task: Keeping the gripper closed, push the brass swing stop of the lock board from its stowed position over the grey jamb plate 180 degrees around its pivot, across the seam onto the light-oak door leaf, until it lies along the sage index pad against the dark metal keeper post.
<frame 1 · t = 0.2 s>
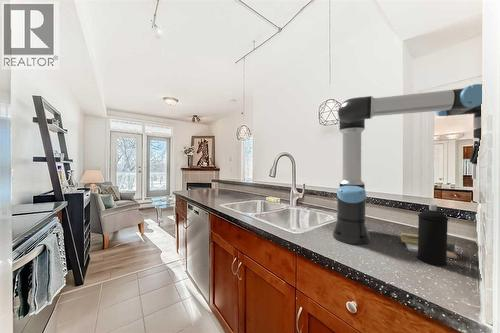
hand: (485, 180, 84), 28 cm above the worktop, fingers open, 13 cm apart
brass swing stop: (416, 238, 87), point 3 cm above the worktop, hinge at 0.0°
aerosol can: (431, 261, 74), on the worktop
door leaf: (437, 248, 84), on the worktop
jamb plate: (415, 245, 87), on the worktop
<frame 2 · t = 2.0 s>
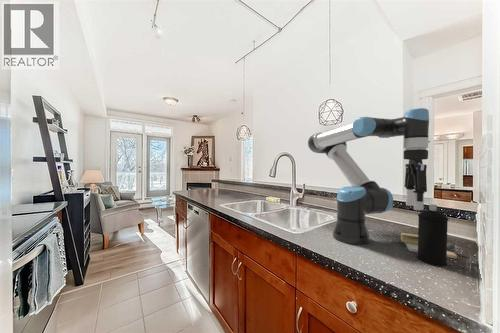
hand: (414, 207, 82), 17 cm above the worktop, fingers open, 8 cm apart
nothing on the worktop moved.
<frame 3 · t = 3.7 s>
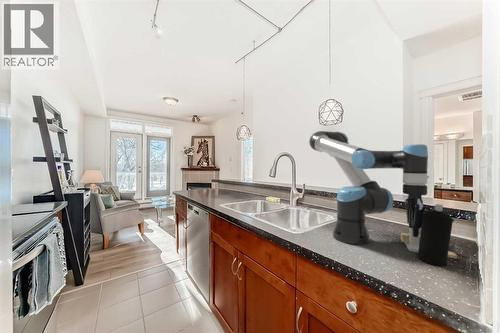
hand: (413, 243, 82), 3 cm above the worktop, fingers closed
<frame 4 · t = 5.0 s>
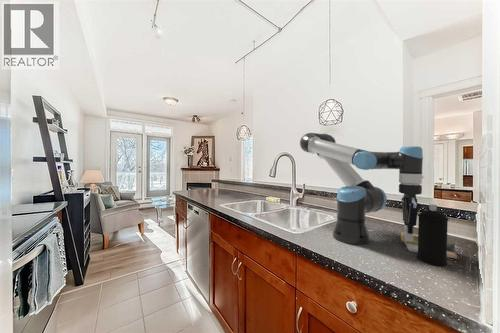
hand: (408, 240, 86), 2 cm above the worktop, fingers closed
brass swing stop: (416, 238, 87), point 3 cm above the worktop, hinge at 5.6°, touching gripper
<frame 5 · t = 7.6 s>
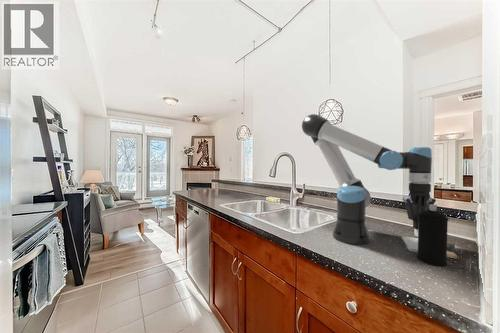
hand: (418, 236, 91), 2 cm above the worktop, fingers closed
brass swing stop: (427, 237, 87), point 3 cm above the worktop, hinge at 106.0°, touching gripper
everything else where it was.
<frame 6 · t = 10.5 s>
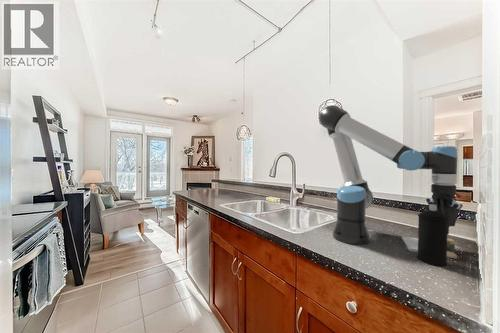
hand: (442, 241, 85), 2 cm above the worktop, fingers closed
brass swing stop: (436, 240, 84), point 3 cm above the worktop, hinge at 175.7°, touching gripper
everything else where it was.
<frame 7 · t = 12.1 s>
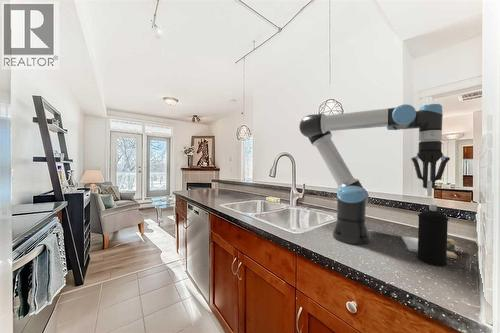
hand: (428, 195, 90), 20 cm above the worktop, fingers closed
brass swing stop: (436, 240, 84), point 3 cm above the worktop, hinge at 175.8°
everything else where it was.
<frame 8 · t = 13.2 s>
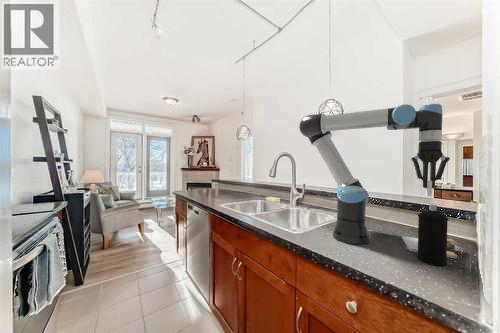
hand: (428, 195, 90), 20 cm above the worktop, fingers closed
nothing on the worktop moved.
at the end: brass swing stop at +176° (first picture: +0°) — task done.
